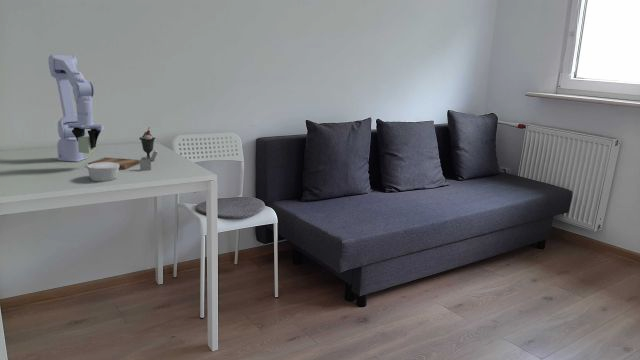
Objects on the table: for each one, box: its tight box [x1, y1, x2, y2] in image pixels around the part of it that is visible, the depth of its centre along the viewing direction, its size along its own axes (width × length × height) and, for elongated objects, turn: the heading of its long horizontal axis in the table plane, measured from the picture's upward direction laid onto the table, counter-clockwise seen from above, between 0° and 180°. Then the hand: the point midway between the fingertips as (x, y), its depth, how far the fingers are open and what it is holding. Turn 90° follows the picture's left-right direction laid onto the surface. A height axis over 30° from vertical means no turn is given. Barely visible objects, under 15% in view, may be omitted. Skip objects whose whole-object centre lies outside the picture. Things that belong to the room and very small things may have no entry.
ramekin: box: [86, 162, 120, 182], centre depth 188 cm, size 11×11×5 cm
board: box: [87, 157, 140, 170], centre depth 210 cm, size 16×12×2 cm
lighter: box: [139, 149, 159, 171], centre depth 204 cm, size 7×2×8 cm, turn 110°
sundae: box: [138, 126, 156, 163], centre depth 219 cm, size 7×7×15 cm
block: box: [78, 135, 97, 154], centre depth 201 cm, size 4×4×6 cm
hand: (87, 147), depth 202 cm, fingers closed on block, 4 cm apart
